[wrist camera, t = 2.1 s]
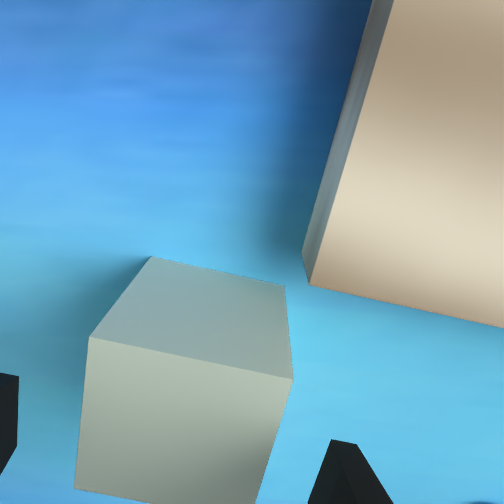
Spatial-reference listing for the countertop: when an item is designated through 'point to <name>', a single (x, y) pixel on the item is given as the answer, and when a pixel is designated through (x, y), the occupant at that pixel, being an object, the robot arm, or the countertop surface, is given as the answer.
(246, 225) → the countertop surface
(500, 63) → the birch slab
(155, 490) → the sage block
